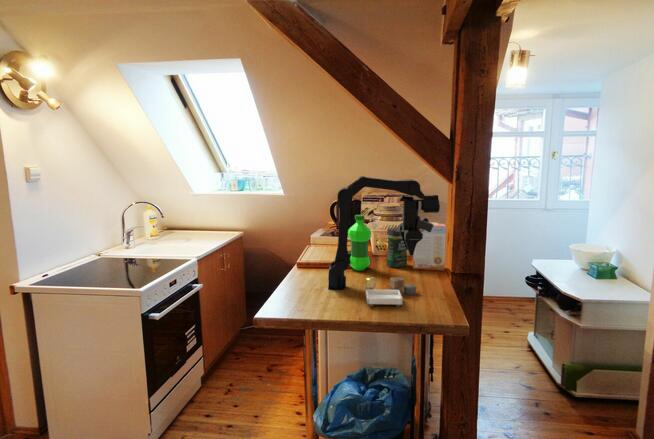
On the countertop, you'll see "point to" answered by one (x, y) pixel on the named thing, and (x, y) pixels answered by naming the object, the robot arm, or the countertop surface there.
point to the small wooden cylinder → (370, 283)
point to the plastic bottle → (359, 244)
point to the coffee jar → (396, 249)
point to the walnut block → (397, 284)
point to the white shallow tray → (383, 297)
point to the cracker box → (431, 249)
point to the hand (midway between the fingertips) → (409, 252)
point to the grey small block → (409, 289)
